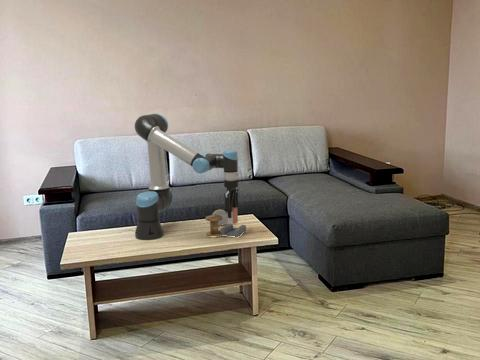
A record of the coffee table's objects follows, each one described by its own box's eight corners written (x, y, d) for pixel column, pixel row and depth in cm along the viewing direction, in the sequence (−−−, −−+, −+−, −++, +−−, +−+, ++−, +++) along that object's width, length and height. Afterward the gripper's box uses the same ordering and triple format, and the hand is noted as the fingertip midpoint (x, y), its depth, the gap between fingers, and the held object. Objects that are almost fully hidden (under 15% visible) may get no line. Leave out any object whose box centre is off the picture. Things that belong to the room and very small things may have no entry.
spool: (203, 236, 269) (202, 218, 267) (210, 231, 277) (210, 214, 275) (218, 238, 265) (217, 220, 263) (225, 233, 273) (225, 215, 271)
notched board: (220, 236, 269) (220, 228, 268) (229, 230, 279) (229, 223, 278) (237, 238, 265) (237, 230, 264) (246, 232, 275) (245, 225, 274)
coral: (211, 216, 283) (210, 205, 291) (213, 230, 289) (213, 219, 297) (227, 214, 283) (227, 203, 291) (229, 228, 289) (229, 217, 297)
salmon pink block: (227, 223, 268) (227, 208, 266) (231, 221, 272) (230, 207, 270) (234, 223, 266) (234, 209, 265) (237, 221, 270) (237, 207, 268)
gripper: (230, 182, 255) (232, 227, 260) (243, 176, 271) (245, 218, 275) (217, 182, 258) (219, 225, 263) (231, 176, 274) (232, 217, 278)
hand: (232, 222), depth 269 cm, fingers closed on salmon pink block, 4 cm apart
